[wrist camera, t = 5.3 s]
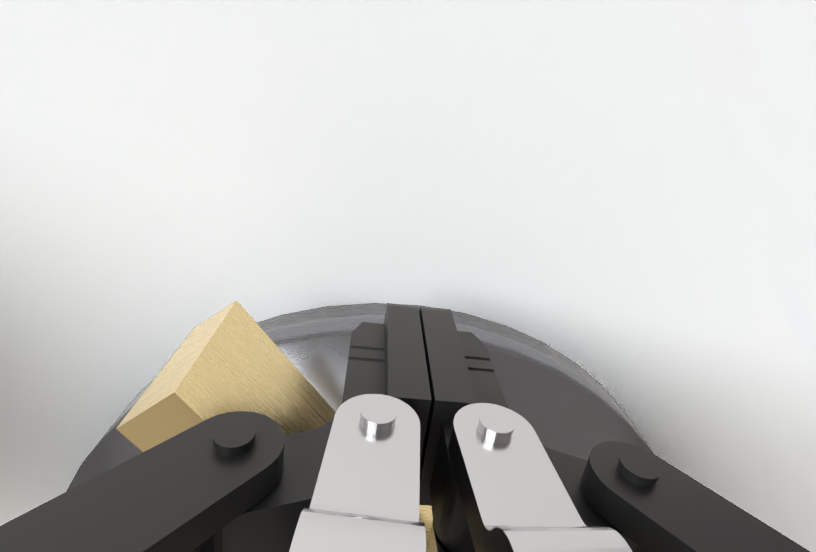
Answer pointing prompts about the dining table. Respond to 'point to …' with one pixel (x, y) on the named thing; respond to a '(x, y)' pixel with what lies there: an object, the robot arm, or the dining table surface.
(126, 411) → the base
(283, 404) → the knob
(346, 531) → the robot arm
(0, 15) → the dining table surface
